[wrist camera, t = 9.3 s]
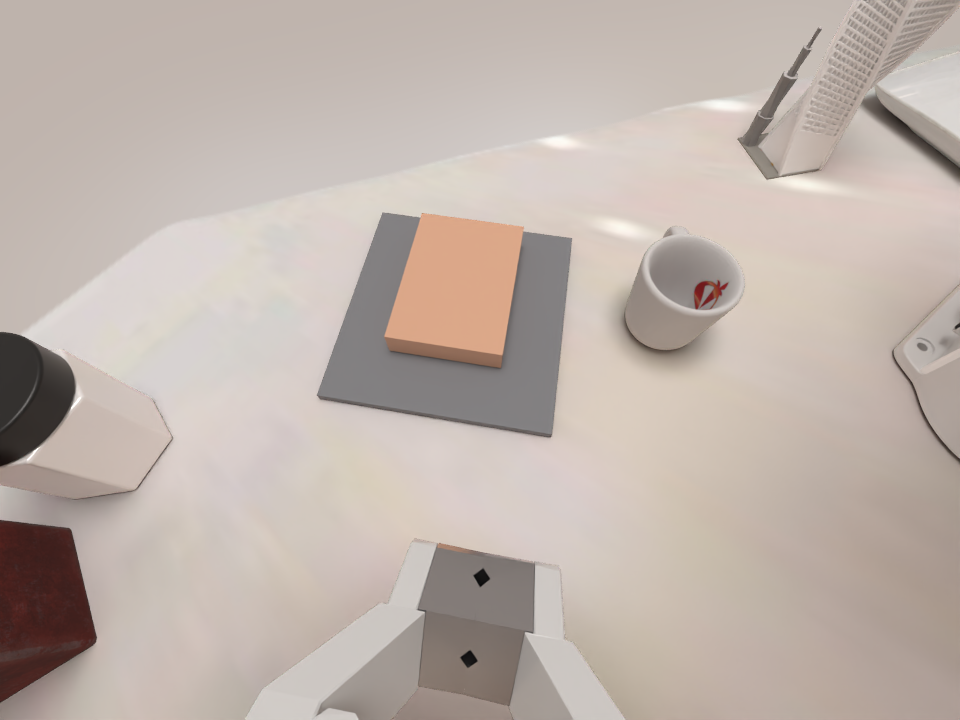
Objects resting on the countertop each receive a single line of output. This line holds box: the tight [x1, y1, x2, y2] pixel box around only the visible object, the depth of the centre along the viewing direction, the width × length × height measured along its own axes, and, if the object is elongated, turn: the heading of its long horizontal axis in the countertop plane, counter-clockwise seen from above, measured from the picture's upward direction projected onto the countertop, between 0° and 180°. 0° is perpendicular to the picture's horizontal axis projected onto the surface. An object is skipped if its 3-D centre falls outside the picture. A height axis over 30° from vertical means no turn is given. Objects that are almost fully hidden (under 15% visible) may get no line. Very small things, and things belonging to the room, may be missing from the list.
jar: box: [0, 332, 172, 499], centre depth 31 cm, size 9×8×12 cm
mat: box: [317, 213, 572, 437], centre depth 42 cm, size 20×21×1 cm
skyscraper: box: [738, 0, 960, 179], centre depth 40 cm, size 8×8×28 cm
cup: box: [625, 226, 745, 350], centre depth 39 cm, size 11×8×8 cm
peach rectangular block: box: [384, 213, 524, 368], centre depth 41 cm, size 10×3×14 cm
